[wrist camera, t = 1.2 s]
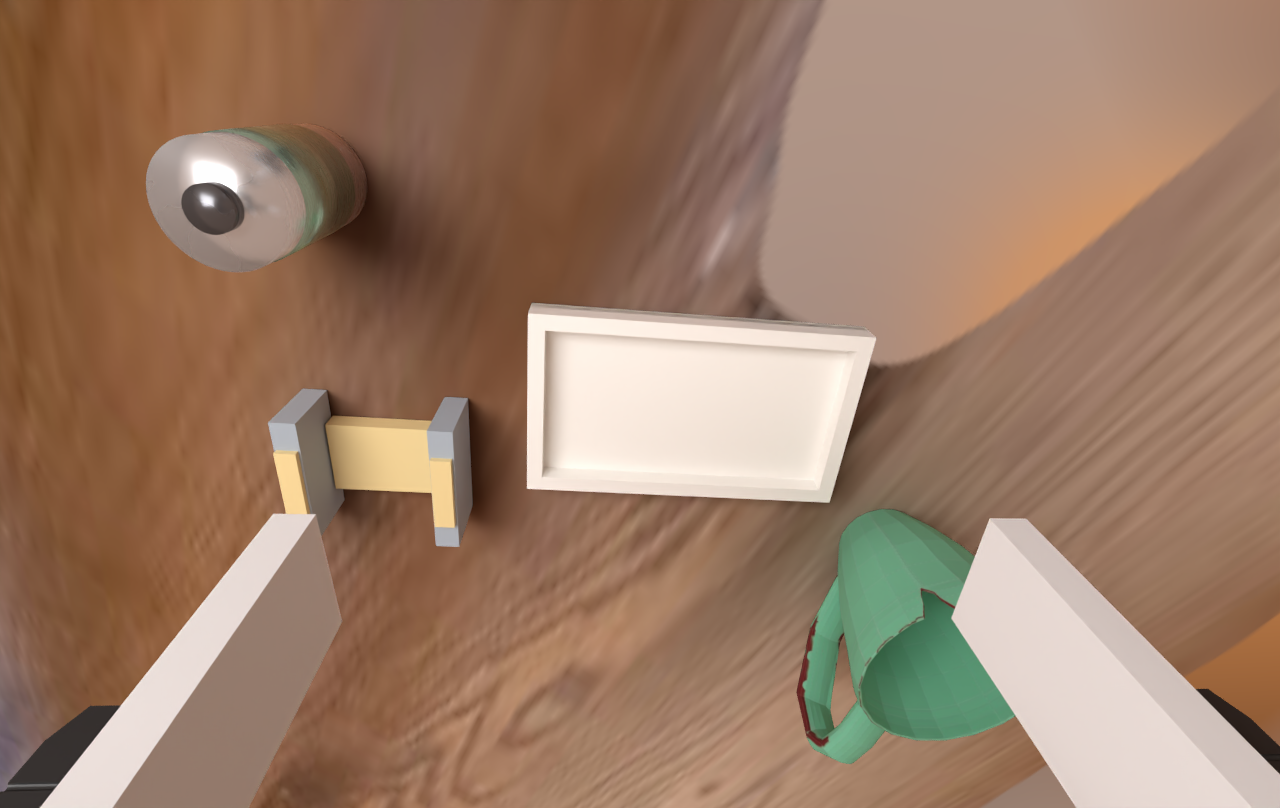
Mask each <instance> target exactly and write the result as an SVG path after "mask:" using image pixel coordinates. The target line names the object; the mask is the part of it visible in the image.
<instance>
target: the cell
mask: <svg viewBox="0 0 1280 808" xmlns="http://www.w3.org/2000/svg"><path fill="white" fill-rule="evenodd" d="M146 191H147V197H148V201H149V204H150V207H151V210H152V212H153V215H154V217H155V219H156V220H157V222H158V224H159V225H160V227H161V229H162V230H163V231H164V233H165V234H166V235H167V236H168V237H169V239H170V240H171V241H172V242H173V243H174V244H175V245H176V246H177V247H178V248H180V249H181V250H182V251H183V252H185V253H186V254H187V255H189V256H190V257H192V258H193V259H195V260H197V261H198V262H200V263H203V264H205V265H207V266H209V267H212V268H215V269H219V270H223V271H229V272H248V271H253V270H256V269H259V268H262V267H264V266H266V265H268V264H270V263H272V262H276V261H278V260H281V259H283V258H285V257H287V256H289V255H291V254H293V253H295V252H297V251H299V250H301V249H303V248H305V247H307V246H309V245H310V244H312V243H314V242H316V241H318V240H320V239H322V238H324V237H326V236H328V235H330V234H332V233H334V232H336V231H337V230H339V229H340V228H341V227H343V226H345V225H347V224H349V223H350V222H352V221H353V220H354V219H355V218H356V217H357V216H358V215H359V214H360V213H361V211H362V209H363V207H364V205H365V202H366V198H367V191H368V187H367V178H366V174H365V170H364V168H363V165H362V163H361V161H360V159H359V157H358V156H357V154H356V153H355V151H354V150H353V149H352V148H351V146H350V145H349V144H348V143H347V142H346V141H345V140H343V139H342V138H341V137H340V136H338V135H337V134H336V133H334V132H332V131H330V130H328V129H326V128H324V127H321V126H318V125H313V124H303V123H301V124H276V125H266V126H256V127H245V128H235V129H224V130H215V131H207V132H204V133H200V134H192V135H184V136H180V137H177V138H174V139H172V140H170V141H168V142H167V143H165V144H164V145H163V146H161V147H160V149H159V150H158V151H157V152H156V153H155V155H154V156H153V158H152V159H151V162H150V164H149V166H148V171H147V176H146Z"/></svg>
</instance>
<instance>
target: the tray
mask: <svg viewBox="0 0 1280 808" xmlns="http://www.w3.org/2000/svg"><path fill="white" fill-rule="evenodd" d="M875 342H876V337H875V336H874V335H873V334H872V333H871V332H870V331H869V330H867V329H866V328H865V327H862V326H849V325H835V324H821V323H807V322H794V321H780V320H766V319H752V318H738V317H724V316H710V315H696V314H682V313H668V312H654V311H640V310H626V309H612V308H598V307H584V306H570V305H556V304H542V303H532V304H531V306H530V309H529V312H528V399H527V489H544V490H566V491H587V492H609V493H631V494H653V495H674V496H696V497H718V498H740V499H761V500H783V501H805V502H827V503H829V502H830V499H831V495H832V492H833V488H834V485H835V481H836V478H837V474H838V471H839V467H840V464H841V460H842V457H843V453H844V450H845V446H846V443H847V439H848V436H849V432H850V429H851V426H852V422H853V419H854V415H855V412H856V408H857V405H858V401H859V398H860V394H861V391H862V387H863V384H864V380H865V377H866V373H867V370H868V366H869V363H870V359H871V356H872V352H873V349H874V345H875Z"/></svg>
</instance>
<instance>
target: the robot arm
mask: <svg viewBox="0 0 1280 808" xmlns="http://www.w3.org/2000/svg"><path fill="white" fill-rule="evenodd" d="M951 619H952V620H953V622H954V623H955V625H956V626H957V628H958V629H959V631H960V632H961V634H962V635H963V637H964V638H965V640H966V641H967V643H968V644H969V646H970V647H971V649H972V650H973V652H974V653H975V655H976V656H977V658H978V659H979V661H980V663H981V664H982V666H983V667H984V669H985V670H986V672H987V673H988V675H989V676H990V678H991V679H992V681H993V682H994V684H995V685H996V687H997V688H998V690H999V691H1000V693H1001V694H1002V696H1003V697H1004V699H1005V700H1006V702H1007V703H1008V705H1009V706H1010V708H1011V709H1012V711H1013V713H1014V714H1015V716H1016V717H1017V719H1018V720H1019V722H1020V723H1021V725H1022V726H1023V728H1024V729H1025V731H1026V732H1027V734H1028V735H1029V737H1030V738H1031V740H1032V741H1033V743H1034V744H1035V746H1036V747H1037V749H1038V750H1039V752H1040V753H1041V755H1042V756H1043V758H1044V759H1045V761H1046V762H1047V764H1048V766H1049V767H1050V769H1051V770H1052V771H1053V773H1054V775H1055V776H1056V778H1057V779H1058V781H1059V782H1060V783H1061V785H1062V787H1063V788H1064V790H1065V791H1066V793H1067V794H1068V796H1069V797H1070V799H1071V800H1072V802H1073V803H1074V805H1075V806H1076V808H1280V746H1279V745H1278V744H1276V743H1275V742H1274V741H1273V740H1272V739H1271V738H1270V737H1269V736H1268V735H1267V734H1266V733H1265V732H1264V731H1263V730H1262V729H1261V728H1260V727H1259V726H1258V725H1257V724H1256V723H1255V722H1254V721H1253V720H1252V719H1250V718H1249V717H1248V716H1246V715H1245V714H1243V713H1242V712H1240V711H1239V710H1238V709H1236V708H1235V707H1233V706H1232V705H1230V704H1229V703H1227V702H1226V701H1224V700H1223V699H1222V698H1220V697H1219V696H1217V695H1216V694H1214V693H1213V692H1211V691H1210V690H1209V689H1195V688H1194V687H1193V686H1192V685H1191V684H1190V683H1189V682H1188V681H1187V680H1186V679H1185V678H1184V677H1183V676H1182V675H1181V674H1180V673H1179V672H1178V671H1177V670H1176V669H1175V668H1174V667H1173V666H1172V665H1171V664H1170V663H1169V662H1168V661H1167V660H1166V659H1165V658H1164V657H1163V656H1162V655H1161V654H1160V653H1159V652H1158V651H1157V650H1156V649H1155V648H1154V647H1153V646H1152V645H1151V644H1150V643H1149V642H1148V641H1147V640H1146V639H1145V638H1144V637H1143V636H1142V635H1141V634H1140V633H1139V632H1138V631H1137V630H1136V629H1135V628H1134V627H1133V626H1132V625H1131V624H1130V623H1129V622H1128V621H1127V620H1126V619H1125V618H1124V617H1123V616H1122V615H1121V614H1120V613H1119V612H1118V611H1117V610H1116V609H1115V608H1114V607H1113V606H1112V605H1111V604H1110V603H1109V602H1108V601H1107V600H1106V599H1105V598H1104V597H1103V596H1102V595H1101V594H1100V593H1099V592H1098V591H1097V590H1096V589H1095V588H1094V587H1093V586H1092V585H1091V584H1090V583H1089V581H1088V580H1087V579H1086V578H1085V577H1084V576H1083V575H1082V574H1081V573H1080V572H1079V571H1078V570H1077V569H1076V568H1075V567H1074V566H1073V565H1072V564H1071V563H1070V562H1069V561H1068V560H1067V559H1066V558H1065V557H1064V556H1063V555H1062V554H1061V553H1060V552H1059V551H1058V550H1057V549H1056V548H1055V547H1054V546H1053V545H1052V544H1051V543H1050V542H1049V541H1048V540H1047V539H1046V538H1045V537H1044V536H1043V535H1042V534H1041V533H1040V532H1039V531H1038V530H1037V529H1036V528H1035V527H1034V526H1033V525H1032V524H1031V523H1030V522H1029V521H1028V520H1027V519H1004V518H990V519H989V522H988V524H987V527H986V529H985V532H984V535H983V537H982V540H981V542H980V545H979V548H978V550H977V553H976V555H975V558H974V561H973V563H972V566H971V568H970V571H969V574H968V576H967V579H966V581H965V584H964V587H963V589H962V592H961V594H960V597H959V600H958V602H957V605H956V607H955V610H954V613H953V615H952V618H951ZM341 623H342V619H341V615H340V611H339V607H338V603H337V599H336V594H335V590H334V586H333V582H332V578H331V574H330V570H329V566H328V562H327V558H326V554H325V550H324V545H323V541H322V537H321V533H320V529H319V525H318V521H317V517H316V514H273V515H272V516H271V518H270V519H269V520H268V521H267V523H266V524H265V525H264V526H263V528H262V529H261V530H260V531H259V533H258V534H257V535H256V536H255V538H254V539H253V540H252V541H251V543H250V544H249V545H248V546H247V548H246V549H245V550H244V551H243V553H242V554H241V555H240V557H239V558H238V559H237V560H236V562H235V563H234V564H233V565H232V567H231V568H230V569H229V570H228V572H227V573H226V574H225V575H224V577H223V578H222V579H221V580H220V582H219V583H218V584H217V585H216V587H215V588H214V589H213V590H212V592H211V593H210V594H209V596H208V597H207V598H206V599H205V601H204V602H203V603H202V604H201V606H200V607H199V608H198V609H197V611H196V612H195V613H194V614H193V616H192V617H191V618H190V619H189V621H188V622H187V623H186V624H185V626H184V627H183V628H182V630H181V631H180V632H179V633H178V635H177V636H176V637H175V638H174V640H173V641H172V642H171V643H170V645H169V646H168V647H167V648H166V650H165V651H164V652H163V653H162V655H161V656H160V657H159V658H158V660H157V661H156V662H155V663H154V665H153V666H152V667H151V669H150V670H149V671H148V672H147V674H146V675H145V676H144V677H143V679H142V680H141V681H140V682H139V684H138V685H137V686H136V687H135V689H134V690H133V691H132V692H131V694H130V695H129V696H128V697H127V699H126V700H125V701H124V702H123V704H122V705H121V706H90V707H88V708H87V709H86V710H84V711H83V712H82V713H81V714H79V715H78V716H77V717H75V718H74V719H73V720H71V721H70V722H69V723H67V724H66V725H65V726H64V727H62V728H61V729H60V730H58V731H57V732H56V733H54V734H53V735H52V736H51V737H49V738H48V739H47V740H45V741H44V742H43V743H42V745H41V746H40V747H39V748H38V749H37V750H36V751H35V753H34V754H33V755H32V756H31V757H30V758H29V759H28V761H27V762H26V763H25V764H24V765H23V766H22V768H21V769H20V770H19V771H18V772H17V773H16V774H15V776H14V777H13V778H12V779H11V780H10V781H9V782H8V788H7V789H6V790H5V791H4V792H0V808H249V806H250V804H251V802H252V800H253V798H254V796H255V794H256V792H257V790H258V788H259V786H260V784H261V782H262V780H263V778H264V776H265V774H266V772H267V770H268V768H269V766H270V764H271V762H272V760H273V758H274V756H275V754H276V752H277V750H278V748H279V746H280V744H281V742H282V740H283V738H284V736H285V734H286V732H287V730H288V728H289V726H290V724H291V722H292V720H293V718H294V716H295V714H296V712H297V710H298V708H299V706H300V704H301V702H302V700H303V698H304V696H305V694H306V692H307V690H308V688H309V686H310V684H311V682H312V680H313V678H314V676H315V674H316V672H317V670H318V668H319V666H320V664H321V662H322V660H323V658H324V656H325V654H326V652H327V650H328V649H329V647H330V645H331V643H332V641H333V639H334V637H335V635H336V633H337V631H338V629H339V627H340V625H341Z"/></svg>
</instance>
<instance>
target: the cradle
mask: <svg viewBox="0 0 1280 808" xmlns="http://www.w3.org/2000/svg"><path fill="white" fill-rule="evenodd" d="M268 425H269V429H270V434H271V438H272V443H273V448H274V453H273V455H274V460H275V464H276V469H277V473H278V478H279V483H280V487H281V492H282V496H283V501H284V505H285V510H286V514H316V517H317V521H318V525H319V529H320V533H321V536H322V534H323V533H324V531H325V530H326V528H327V527H328V525H329V523H330V522H331V520H332V519H333V517H334V516H335V514H336V513H337V511H338V509H339V508H340V506H341V505H342V503H343V502H344V500H345V498H344V492H343V489H357V490H380V491H402V492H424V493H432V502H433V514H434V527H435V539H436V546H453V547H459V546H460V543H461V540H462V537H463V534H464V531H465V528H466V525H467V522H468V518H469V515H470V512H471V509H472V506H473V499H472V477H471V454H470V432H469V409H468V398H454V397H445V398H444V399H443V401H442V403H441V405H440V407H439V409H438V411H437V413H436V414H435V416H434V418H433V420H432V421H423V420H405V419H387V418H368V417H350V416H332V417H331V413H330V406H329V400H328V394H327V390H316V389H302V390H301V391H300V392H299V393H298V394H297V395H296V396H295V397H294V398H293V399H292V400H291V401H290V402H289V403H288V404H287V405H286V406H285V407H283V408H282V409H281V410H280V411H279V412H278V413H277V414H276V415H275V416H274V417H273V418H272V419H271V420H270V421H269V422H268Z"/></svg>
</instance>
